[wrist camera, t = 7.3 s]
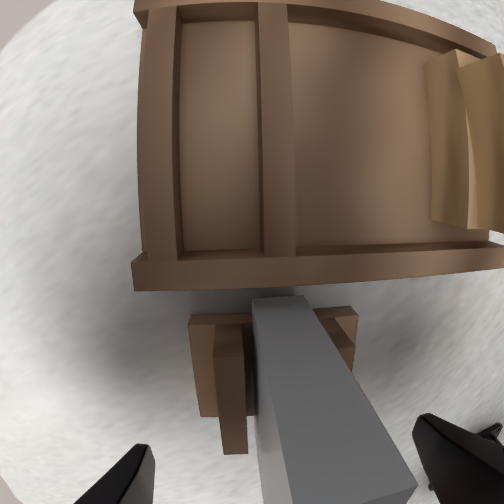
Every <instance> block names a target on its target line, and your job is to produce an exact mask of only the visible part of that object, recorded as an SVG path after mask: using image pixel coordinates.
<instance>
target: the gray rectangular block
mask: <svg viewBox="0 0 504 504" xmlns="http://www.w3.org/2000/svg"><path fill="white" fill-rule="evenodd" d="M252 320H253V372H254V423H255V436H256V445H257V454H258V462H259V470H260V479H261V487H262V495H263V503H264V504H406V503H407V501H408V500H409V498H410V497H411V495H412V494H413V492H414V491H415V489H416V488H417V486H418V483H417V481H416V480H415V478H414V476H413V474H412V473H411V471H410V469H409V468H408V466H407V464H406V462H405V461H404V459H403V457H402V456H401V454H400V452H399V450H398V449H397V447H396V445H395V444H394V442H393V440H392V439H391V437H390V435H389V434H388V432H387V430H386V429H385V427H384V425H383V424H382V422H381V420H380V419H379V417H378V415H377V414H376V412H375V410H374V409H373V407H372V405H371V404H370V402H369V400H368V399H367V397H366V395H365V394H364V392H363V390H362V389H361V387H360V386H359V384H358V382H357V381H356V379H355V377H354V376H353V374H352V372H351V371H350V369H349V368H348V366H347V364H346V363H345V361H344V360H343V358H342V356H341V355H340V353H339V351H338V350H337V348H336V347H335V345H334V343H333V342H332V340H331V339H330V337H329V335H328V334H327V332H326V331H325V329H324V327H323V326H322V324H321V323H320V321H319V319H318V318H317V316H316V315H315V313H314V311H313V310H312V308H311V307H310V305H309V304H308V302H307V300H306V299H305V297H304V296H285V297H265V298H252Z"/></svg>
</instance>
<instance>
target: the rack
mask: <svg viewBox="0 0 504 504" xmlns="http://www.w3.org/2000/svg"><path fill="white" fill-rule="evenodd" d="M133 13H134V15H135V17H136V18H137V20H138V22H139V23H140V25H141V27H142V29H143V32H142V42H141V53H140V67H139V84H138V110H137V168H138V195H139V213H140V228H141V240H142V251H143V253H141V254H140V255H139V256H138V257H137V258H136V259H134V260H133V261H132V262H131V269H132V277H133V285H134V291H177V290H213V289H241V288H264V287H284V286H303V285H320V284H335V283H350V282H364V281H377V280H389V279H401V278H412V277H423V276H434V275H444V274H454V273H463V272H473V271H481V270H490V269H498V268H504V245H500V244H497V243H494V242H491V241H489V229H466V228H462V227H458V226H454V225H450V224H446V223H442V222H438V221H434V220H431V199H432V159H431V136H430V121H429V110H428V100H427V91H426V83H425V76H424V70H423V65H424V64H426V63H428V62H430V61H432V60H434V59H436V58H438V57H440V56H442V55H444V54H446V53H448V52H450V51H452V50H454V49H457V50H460V51H462V52H465V53H467V54H469V55H472V56H474V57H476V58H479V59H484V58H487V57H490V56H492V55H495V54H497V51H496V47H495V45H493V44H492V43H490V42H488V41H486V40H484V39H482V38H480V37H478V36H476V35H474V34H471V33H469V32H467V31H465V30H463V29H461V28H458V27H456V26H454V25H451V24H449V23H446V22H444V21H441V20H439V19H436V18H434V17H431V16H428V15H426V14H423V13H420V12H417V11H414V10H411V9H408V8H405V7H401V6H398V5H395V4H391V3H388V2H384V1H380V0H135V2H134V8H133Z"/></svg>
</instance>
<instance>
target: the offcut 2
mask: <svg viewBox="0 0 504 504" xmlns="http://www.w3.org/2000/svg"><path fill="white" fill-rule="evenodd" d="M456 71H457V75H458V78H459V82H460V86H461V90H462V95H463V99H464V104H465V108H466V113H467V118H468V124H469V130H470V136H471V142H472V149H473V157H474V166H475V176H476V188H477V204H478V227H481V228H485V229H489V230H492V231H496V232H500V233H504V54H501V53H498V54H495V55H492V56H490V57H487V58H484V59H481V60H479V61H476V62H474V63H471V64H468V65H466V66H463V67H461V68H458V69H456Z"/></svg>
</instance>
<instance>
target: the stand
mask: <svg viewBox="0 0 504 504" xmlns="http://www.w3.org/2000/svg"><path fill="white" fill-rule="evenodd" d="M312 310H313V311H314V313H315V315H316V316H317V318H318V319H319V321H320V323H321V324H322V326H323V327H324V329H325V331H326V332H327V334H328V335H329V337H330V339H331V340H332V342H333V343H334V345H335V347H336V348H337V350H338V351H339V353H340V355H341V356H342V358H343V360H344V361H345V363H346V364H347V366H348V368H349V369H350V371H351V372H352V367H353V361H354V354H355V339H356V331H357V322H358V314H357V313H356V312H355V311H354V310H353V309H352V308H351V307H350V306H347V307H336V308H324V309H312ZM188 330H189V338H190V347H191V355H192V362H193V370H194V377H195V384H196V391H197V397H198V404H199V410H200V416H201V417H219V421H220V429H221V437H222V445H223V453H224V455H231V454H248V439H247V419H246V416H254V372H253V320H252V313H242V314H215V315H191V316H190V320H189V323H188Z"/></svg>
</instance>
